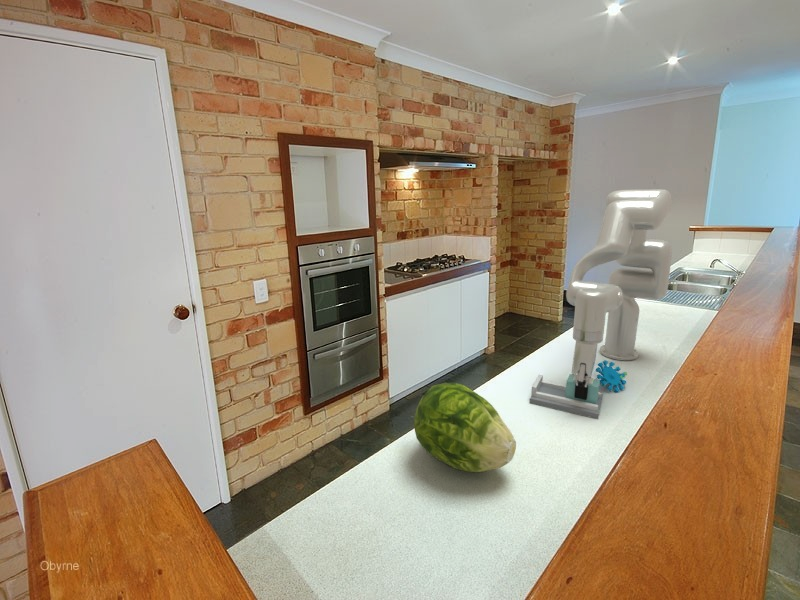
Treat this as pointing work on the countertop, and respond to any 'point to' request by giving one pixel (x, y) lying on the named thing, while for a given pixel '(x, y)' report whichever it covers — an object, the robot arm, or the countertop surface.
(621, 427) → the countertop surface
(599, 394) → the rail base
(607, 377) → the gear
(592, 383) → the block
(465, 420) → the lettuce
